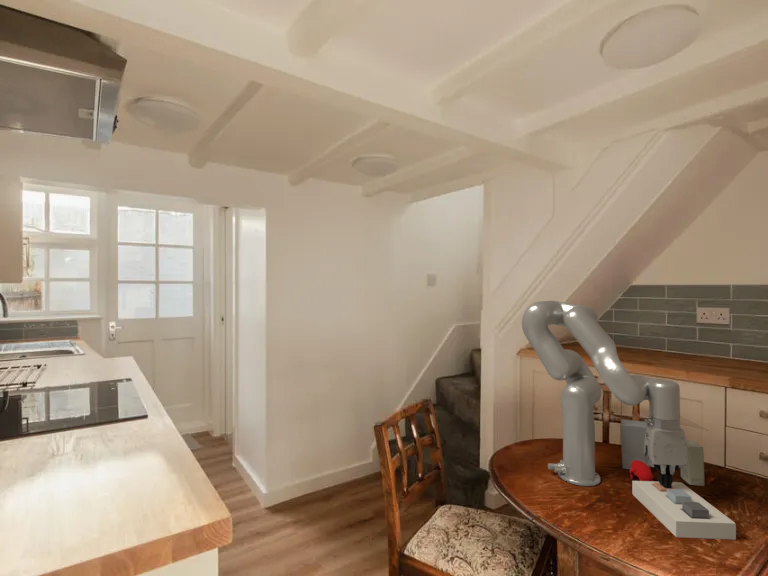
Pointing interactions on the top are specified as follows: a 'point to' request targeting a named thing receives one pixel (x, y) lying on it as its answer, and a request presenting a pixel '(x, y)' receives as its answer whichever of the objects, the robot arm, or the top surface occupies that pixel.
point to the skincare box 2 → (694, 465)
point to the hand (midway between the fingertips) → (665, 486)
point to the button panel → (683, 513)
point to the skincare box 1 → (632, 442)
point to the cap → (641, 471)
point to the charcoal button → (695, 510)
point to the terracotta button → (661, 487)
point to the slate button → (678, 496)
